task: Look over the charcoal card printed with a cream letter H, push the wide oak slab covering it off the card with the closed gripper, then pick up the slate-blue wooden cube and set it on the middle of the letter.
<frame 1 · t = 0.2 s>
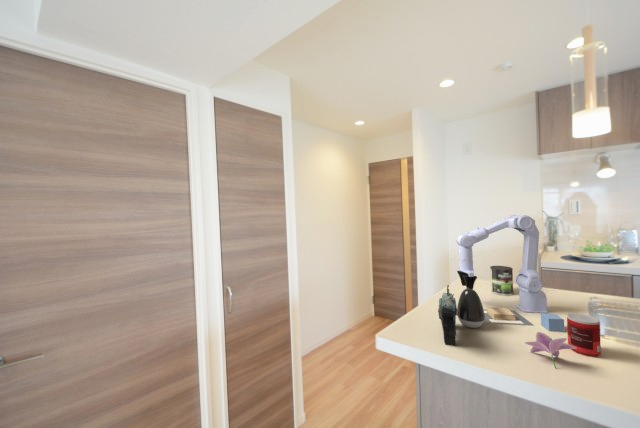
hand: (467, 287, 126), 10 cm above the countertop, tool pointing down, fingers open, 7 cm apart
canned food: (583, 351, 86), on the countertop
oak slab: (500, 316, 115), resting on letter card
letter card: (500, 316, 115), on the countertop
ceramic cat: (448, 335, 101), on the countertop
coffee can: (502, 293, 146), on the countertop
lily: (549, 361, 82), on the countertop
black egg shaped container: (470, 325, 108), on the countertop
blue cube: (552, 329, 102), on the countertop
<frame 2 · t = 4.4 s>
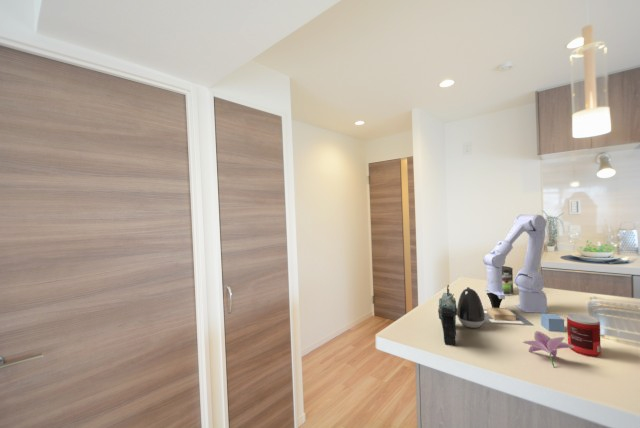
hand: (495, 309, 119), 1 cm above the countertop, tool pointing down, fingers closed
oak slab: (500, 316, 114), resting on letter card, touching gripper
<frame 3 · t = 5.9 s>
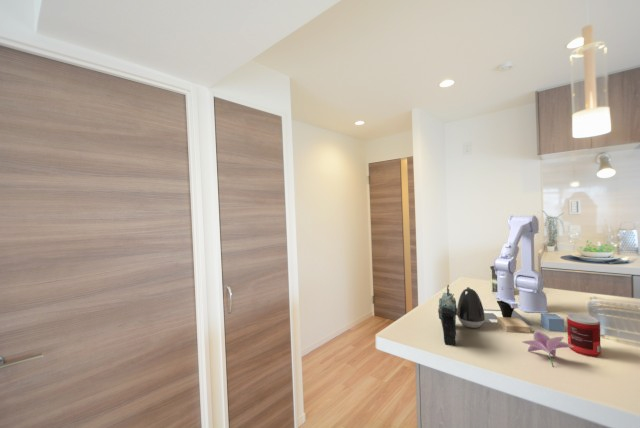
hand: (506, 319, 109), 1 cm above the countertop, tool pointing down, fingers closed
oak slab: (513, 327, 104), on the countertop
everything else where it was.
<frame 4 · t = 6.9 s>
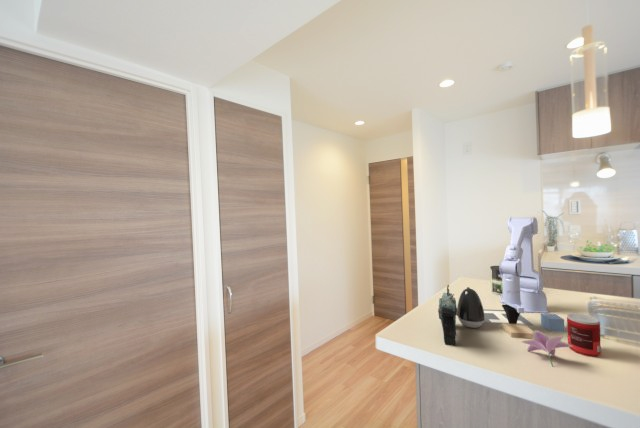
hand: (512, 324, 104), 1 cm above the countertop, tool pointing down, fingers closed
oak slab: (518, 334, 100), on the countertop
everything else where it was.
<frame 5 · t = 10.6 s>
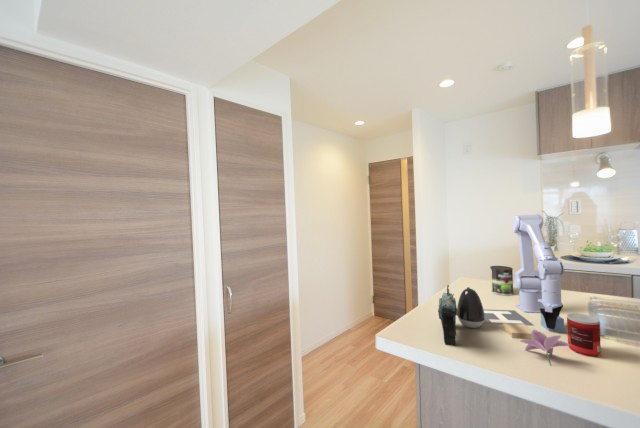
hand: (552, 325, 102), 1 cm above the countertop, tool pointing down, fingers closed on blue cube, 7 cm apart
blue cube: (552, 328, 102), on the countertop, touching gripper
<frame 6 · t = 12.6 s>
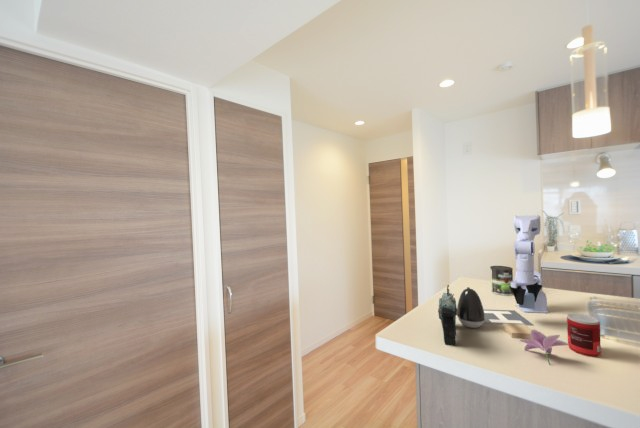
hand: (526, 302, 108), 8 cm above the countertop, tool pointing down, fingers closed on blue cube, 7 cm apart
blue cube: (526, 306, 108), point 7 cm above the countertop, touching gripper
when the fingers open (3 cm above the countertop, at t = 14.9 s): blue cube drops 1 cm, resting on letter card.
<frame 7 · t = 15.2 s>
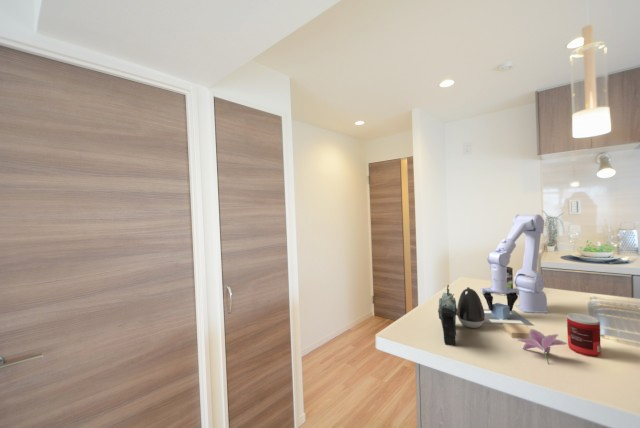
hand: (500, 310, 115), 3 cm above the countertop, tool pointing down, fingers open, 7 cm apart
blue cube: (500, 316, 115), resting on letter card, touching gripper
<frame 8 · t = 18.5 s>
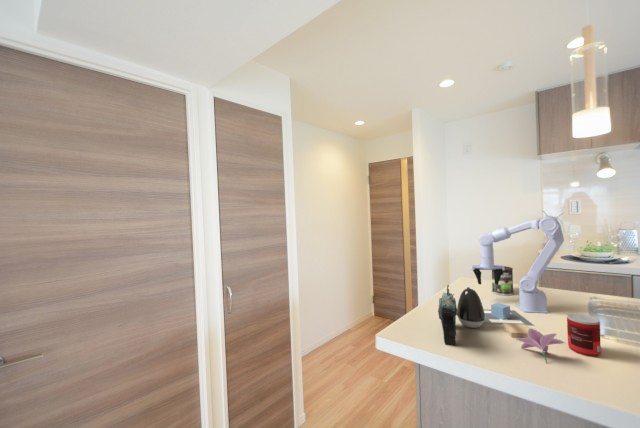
hand: (488, 284, 132), 9 cm above the countertop, tool pointing down, fingers open, 7 cm apart
blue cube: (500, 316, 115), resting on letter card
at the end: oak slab touching countertop; blue cube 0.1 cm off-centre on the letter card, point 0.1 cm above the letter card's base; blue cube tilted 0° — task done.
